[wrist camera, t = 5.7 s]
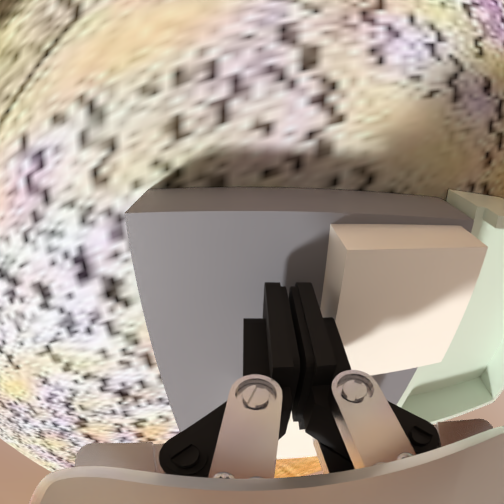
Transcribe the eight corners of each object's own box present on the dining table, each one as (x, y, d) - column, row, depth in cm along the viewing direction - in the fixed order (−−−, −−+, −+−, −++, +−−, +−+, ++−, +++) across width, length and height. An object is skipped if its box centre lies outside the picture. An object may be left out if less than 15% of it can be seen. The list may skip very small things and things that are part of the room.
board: (148, 189, 13) (124, 213, 10) (439, 197, 13) (474, 220, 10) (187, 407, 20) (183, 440, 17) (370, 399, 20) (380, 429, 18)
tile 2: (240, 378, 14) (240, 411, 12) (357, 372, 14) (367, 401, 12) (241, 433, 17) (241, 460, 15) (333, 428, 17) (339, 452, 15)
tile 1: (330, 224, 10) (347, 250, 9) (460, 225, 10) (488, 247, 9) (313, 347, 13) (322, 381, 11) (424, 334, 13) (441, 361, 11)
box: (448, 189, 13) (490, 214, 10) (553, 208, 13) (584, 228, 10) (374, 401, 21) (386, 436, 18) (478, 376, 21) (493, 401, 18)
